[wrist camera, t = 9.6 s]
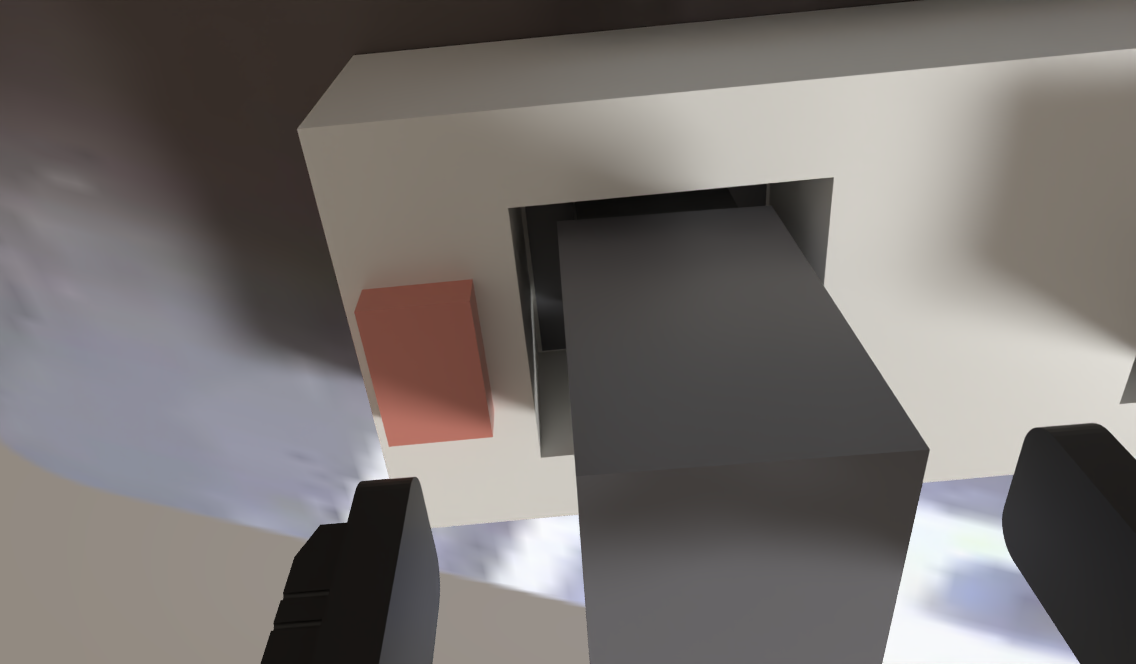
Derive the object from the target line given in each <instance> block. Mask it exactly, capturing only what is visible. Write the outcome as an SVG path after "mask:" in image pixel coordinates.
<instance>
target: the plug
mask: <svg viewBox="0 0 1136 664" xmlns="http://www.w3.org/2000/svg"><path fill="white" fill-rule="evenodd" d="M573 206H574V220H566V221H557V232H558V245H559V258H560V272H561V285H562V299H563V312H564V326H565V339H566V353H567V366H568V379H569V393H570V406H571V419H572V433H573V446H574V459H575V473H576V486H577V499H578V513H579V526H580V539H581V552H582V566H583V579H584V592H585V606H586V619H587V631H588V646H589V657H590V664H882V661H883V657H884V652H885V648H886V644H887V639H888V635H889V630H890V626H891V621H892V617H893V612H894V608H895V603H896V599H897V594H898V590H899V586H900V581H901V577H902V572H903V568H904V563H905V559H906V554H907V550H908V545H909V541H910V537H911V532H912V528H913V523H914V519H915V514H916V510H917V505H918V501H919V496H920V492H921V487H922V483H923V479H924V474H925V470H926V465H927V461H928V456H929V452H930V449H929V447H928V446H927V444H926V443H925V441H924V440H923V438H922V436H921V435H920V433H919V432H918V430H917V429H916V427H915V426H914V424H913V423H912V421H911V420H910V418H909V416H908V415H907V413H906V412H905V410H904V409H903V407H902V406H901V404H900V403H899V401H898V399H897V398H896V396H895V395H894V393H893V392H892V390H891V389H890V387H889V386H888V384H887V383H886V381H885V379H884V378H883V376H882V375H881V373H880V372H879V370H878V369H877V367H876V366H875V364H874V362H873V361H872V359H871V358H870V356H869V355H868V353H867V352H866V350H865V349H864V347H863V345H862V344H861V342H860V341H859V339H858V338H857V336H856V335H855V333H854V332H853V330H852V329H851V327H850V325H849V324H848V322H847V321H846V319H845V318H844V316H843V315H842V313H841V312H840V310H839V308H838V307H837V305H836V304H835V302H834V301H833V299H832V298H831V296H830V295H829V293H828V292H827V290H826V288H825V287H824V285H823V284H822V282H821V281H820V279H819V278H818V276H817V275H816V273H815V271H814V270H813V268H812V267H811V265H810V264H809V262H808V261H807V259H806V258H805V256H804V254H803V253H802V251H801V250H800V248H799V247H798V245H797V244H796V242H795V241H794V239H793V238H792V236H791V234H790V233H789V231H788V230H787V228H786V227H785V225H784V224H783V222H782V221H781V219H780V217H779V216H778V214H777V213H776V211H775V210H774V208H773V207H772V205H769V206H755V207H742V208H738V206H737V204H736V202H735V201H734V199H733V197H732V195H731V194H730V192H729V190H728V188H727V187H725V188H714V189H704V190H693V191H683V192H672V193H662V194H651V195H640V196H630V197H619V198H609V199H598V200H588V201H577V202H573Z"/></svg>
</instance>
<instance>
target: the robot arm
mask: <svg viewBox="0 0 1136 664" xmlns="http://www.w3.org/2000/svg"><path fill="white" fill-rule="evenodd" d="M1002 527H1003V534H1004V539H1005V543H1006V546H1007V549H1008V551H1009V553H1010V555H1011V557H1012V559H1013V561H1014V562H1015V564H1016V566H1017V567H1018V569H1019V570H1020V572H1021V573H1022V575H1023V576H1024V578H1025V579H1026V581H1027V582H1028V584H1029V586H1030V587H1031V589H1032V590H1033V592H1034V593H1035V595H1036V596H1037V598H1038V599H1039V601H1040V602H1041V604H1042V606H1043V607H1044V609H1045V610H1046V612H1047V613H1048V615H1049V616H1050V618H1051V619H1052V621H1053V623H1054V624H1055V626H1056V627H1057V629H1058V630H1059V632H1060V633H1061V635H1062V636H1063V638H1064V639H1065V641H1066V643H1067V644H1068V646H1069V647H1070V649H1071V650H1072V652H1073V653H1074V655H1075V656H1076V658H1077V659H1078V661H1079V663H1080V664H1136V459H1135V458H1134V457H1133V456H1132V455H1131V454H1130V453H1129V452H1128V451H1127V450H1126V449H1125V447H1124V446H1123V445H1122V444H1121V443H1120V442H1119V441H1118V440H1117V439H1116V438H1115V437H1114V436H1113V435H1112V434H1111V433H1110V432H1109V431H1108V430H1107V429H1106V428H1105V427H1103V426H1102V425H1100V424H1097V423H1083V424H1071V425H1059V426H1047V427H1036V428H1033V429H1031V430H1030V431H1029V432H1028V433H1027V435H1026V436H1025V439H1024V441H1023V445H1022V448H1021V452H1020V455H1019V458H1018V462H1017V465H1016V469H1015V472H1014V475H1013V479H1012V482H1011V486H1010V489H1009V492H1008V496H1007V499H1006V503H1005V506H1004V510H1003V516H1002ZM283 595H284V598H283V600H281V601H280V604H279V607H278V611H277V614H276V617H275V620H274V630H273V631H271V633H270V636H269V639H268V642H267V645H266V648H265V652H264V655H263V658H262V661H261V664H432V662H433V653H434V645H435V636H436V627H437V619H438V610H439V598H440V578H439V565H438V558H437V553H436V548H435V544H434V540H433V535H432V531H431V527H430V522H429V518H428V514H427V509H426V505H425V501H424V496H423V492H422V488H421V484H420V481H419V479H418V478H417V477H406V478H394V479H382V480H370V481H361V482H360V483H359V484H358V486H357V488H356V491H355V494H354V498H353V502H352V506H351V510H350V514H349V518H348V521H347V523H337V524H325V525H320V526H319V527H318V528H317V530H316V531H315V532H314V533H313V535H312V536H311V537H310V538H309V540H308V541H307V542H306V544H305V545H304V546H303V547H302V548H301V550H300V551H299V552H298V553H297V555H296V556H295V557H294V560H293V563H292V567H291V570H290V573H289V576H288V579H287V582H286V586H285V589H284V592H283Z"/></svg>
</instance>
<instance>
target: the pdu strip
mask: <svg viewBox="0 0 1136 664" xmlns="http://www.w3.org/2000/svg"><path fill="white" fill-rule="evenodd" d="M297 131H298V135H299V139H300V142H301V146H302V150H303V154H304V158H305V161H306V165H307V169H308V173H309V176H310V180H311V184H312V188H313V192H314V195H315V199H316V203H317V207H318V210H319V214H320V218H321V222H322V225H323V229H324V233H325V237H326V241H327V244H328V248H329V252H330V256H331V259H332V263H333V267H334V271H335V275H336V278H337V282H338V286H339V290H340V293H341V297H342V301H343V305H344V309H345V312H346V316H347V320H348V324H349V327H350V331H351V335H352V339H353V343H354V346H355V350H356V354H357V358H358V361H359V365H360V369H361V373H362V377H363V380H364V384H365V388H366V392H367V395H368V399H369V403H370V407H371V410H372V414H373V418H374V422H375V426H376V429H377V433H378V437H379V441H380V444H381V448H382V452H383V456H384V460H385V463H386V467H387V471H388V475H389V478H390V479H394V478H406V477H417V478H418V479H419V481H420V484H421V488H422V492H423V496H424V501H425V505H426V509H427V514H428V518H429V522H430V527H431V528H437V527H448V526H459V525H470V524H481V523H492V522H503V521H513V520H524V519H535V518H546V517H557V516H568V515H579V513H578V499H577V486H576V473H575V459H574V446H573V433H572V419H571V406H570V393H569V379H568V366H567V353H566V339H565V326H564V312H563V299H562V285H561V272H560V258H559V245H558V232H557V221H566V220H574V206H573V202H577V201H588V200H598V199H609V198H619V197H630V196H640V195H651V194H662V193H672V192H683V191H693V190H704V189H714V188H725V187H727V188H728V190H729V192H730V194H731V195H732V197H733V199H734V201H735V202H736V204H737V206H738V208H742V207H755V206H769V205H772V207H773V208H774V210H775V211H776V213H777V214H778V216H779V217H780V219H781V221H782V222H783V224H784V225H785V227H786V228H787V230H788V231H789V233H790V234H791V236H792V238H793V239H794V241H795V242H796V244H797V245H798V247H799V248H800V250H801V251H802V253H803V254H804V256H805V258H806V259H807V261H808V262H809V264H810V265H811V267H812V268H813V270H814V271H815V273H816V275H817V276H818V278H819V279H820V281H821V282H822V284H823V285H824V287H825V288H826V290H827V292H828V293H829V295H830V296H831V298H832V299H833V301H834V302H835V304H836V305H837V307H838V308H839V310H840V312H841V313H842V315H843V316H844V318H845V319H846V321H847V322H848V324H849V325H850V327H851V329H852V330H853V332H854V333H855V335H856V336H857V338H858V339H859V341H860V342H861V344H862V345H863V347H864V349H865V350H866V352H867V353H868V355H869V356H870V358H871V359H872V361H873V362H874V364H875V366H876V367H877V369H878V370H879V372H880V373H881V375H882V376H883V378H884V379H885V381H886V383H887V384H888V386H889V387H890V389H891V390H892V392H893V393H894V395H895V396H896V398H897V399H898V401H899V403H900V404H901V406H902V407H903V409H904V410H905V412H906V413H907V415H908V416H909V418H910V420H911V421H912V423H913V424H914V426H915V427H916V429H917V430H918V432H919V433H920V435H921V436H922V438H923V440H924V441H925V443H926V444H927V446H928V447H929V449H930V452H929V456H928V461H927V465H926V470H925V474H924V479H923V483H926V482H937V481H948V480H958V479H969V478H980V477H991V476H1002V475H1013V474H1014V472H1015V469H1016V465H1017V462H1018V458H1019V455H1020V452H1021V448H1022V445H1023V441H1024V439H1025V436H1026V435H1027V433H1028V432H1029V431H1030V430H1031V429H1033V428H1036V427H1047V426H1059V425H1071V424H1083V423H1097V424H1100V425H1102V426H1103V427H1105V428H1106V429H1107V430H1108V431H1109V432H1110V433H1111V434H1112V435H1113V436H1114V437H1115V438H1116V439H1117V440H1118V441H1119V442H1120V443H1121V444H1122V445H1123V446H1124V447H1125V449H1126V450H1127V451H1128V452H1129V453H1130V454H1131V455H1132V456H1133V457H1134V458H1135V459H1136V0H920V1H910V2H900V3H889V4H879V5H868V6H858V7H848V8H837V9H827V10H817V11H806V12H796V13H786V14H775V15H765V16H755V17H744V18H734V19H724V20H713V21H703V22H693V23H682V24H672V25H662V26H651V27H641V28H631V29H620V30H610V31H600V32H589V33H579V34H569V35H558V36H548V37H538V38H527V39H517V40H507V41H496V42H486V43H476V44H465V45H455V46H445V47H434V48H424V49H414V50H403V51H393V52H383V53H372V54H362V55H353V56H352V58H351V59H350V60H349V62H348V63H347V64H346V66H345V67H344V68H343V69H342V71H341V72H340V73H339V75H338V76H337V77H336V79H335V80H334V81H333V83H332V84H331V85H330V86H329V88H328V89H327V90H326V92H325V93H324V94H323V96H322V97H321V98H320V100H319V101H318V102H317V103H316V105H315V106H314V107H313V109H312V110H311V111H310V113H309V114H308V115H307V117H306V118H305V119H304V120H303V122H302V123H301V124H300V126H299V127H298V128H297Z"/></svg>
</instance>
